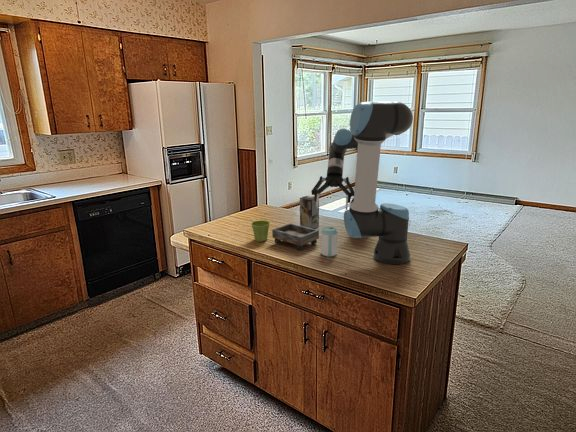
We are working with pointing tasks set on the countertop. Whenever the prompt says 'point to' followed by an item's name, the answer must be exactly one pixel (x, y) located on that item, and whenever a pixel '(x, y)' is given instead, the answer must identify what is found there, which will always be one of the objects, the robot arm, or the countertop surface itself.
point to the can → (329, 241)
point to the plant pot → (260, 230)
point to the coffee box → (309, 212)
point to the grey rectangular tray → (295, 235)
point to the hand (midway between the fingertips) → (331, 207)
